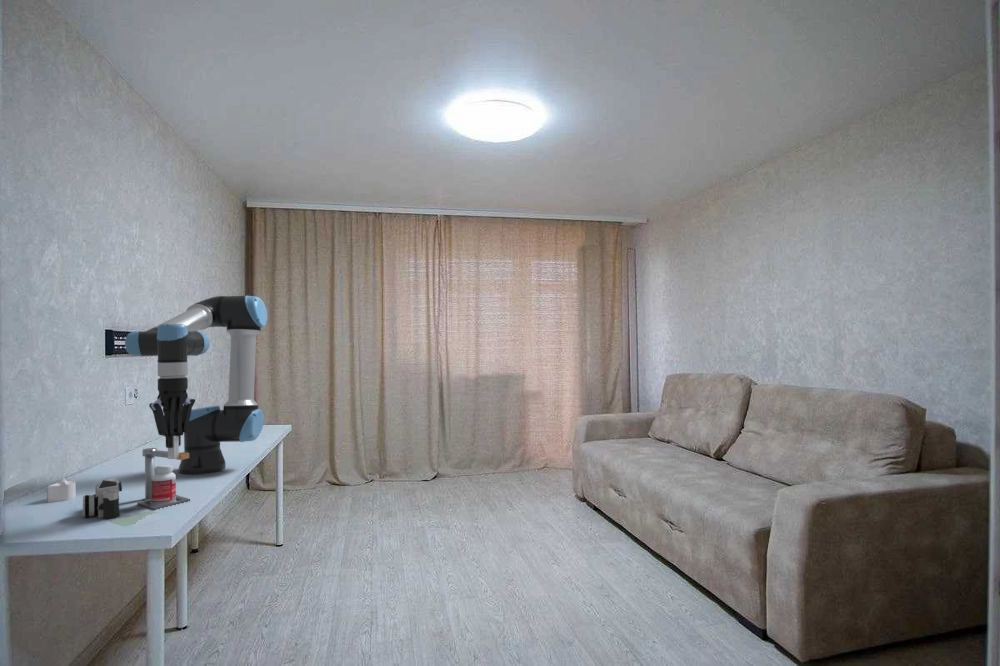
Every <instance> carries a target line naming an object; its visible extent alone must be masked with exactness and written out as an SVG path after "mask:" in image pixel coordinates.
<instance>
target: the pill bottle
mask: <svg viewBox="0 0 1000 666" xmlns="http://www.w3.org/2000/svg"><path fill="white" fill-rule="evenodd" d="M173 471H174V466H173V464H172V465H171V464H164V465H157V466H155V468H154V473H155V475H154V476H153V477H152V479H151V487H152V503H151V505H154V506H160V505H164V504H168V503H172V502H176V501H177V500H176V495H177V479H176V478H177V475H176V474H175V472H173Z"/></svg>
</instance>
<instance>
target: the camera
mask: <svg viewBox="0 0 1000 666" xmlns="http://www.w3.org/2000/svg"><path fill="white" fill-rule="evenodd" d="M120 492H123V486H122V481H119V480H118V479H116V478H108V479H105V480H103V479H102V480H101V481H99V482H98V484H97V485H96V486H95V494H86V495H84V496H82V517H83V518H85V519H87V518H91V517H98V518H103V520H107V521H108V520H113V519H116V518H119V517H120V505H119V504H120V494H119V493H120Z"/></svg>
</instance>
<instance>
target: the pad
mask: <svg viewBox="0 0 1000 666" xmlns="http://www.w3.org/2000/svg"><path fill="white" fill-rule="evenodd" d="M153 513H154V514H155V513H156V514H157V513H158V512H156V511H154V510H153V511H152V510H149V511H145V512H141V513H138V514H133V515H129V516H126V517H122V518H118V519H115V520H110V523H113V524H116V525H119V526H122V527H124V526H125V527H124V528H127V527H126V526H128V525H129V526H131V524H132V525H133V524H136V522H138V520H141V519H143V517H144V518H145V516H147V515H150V514H151V515H152V514H153Z"/></svg>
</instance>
